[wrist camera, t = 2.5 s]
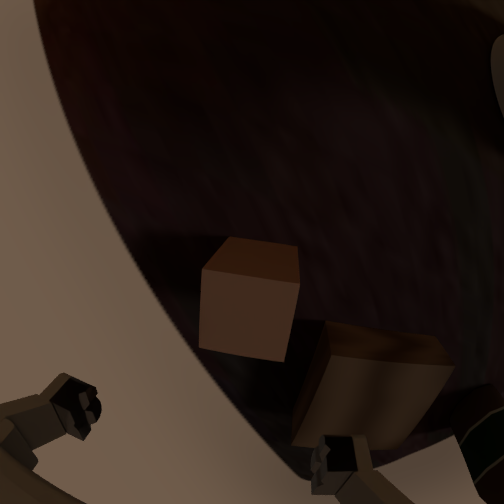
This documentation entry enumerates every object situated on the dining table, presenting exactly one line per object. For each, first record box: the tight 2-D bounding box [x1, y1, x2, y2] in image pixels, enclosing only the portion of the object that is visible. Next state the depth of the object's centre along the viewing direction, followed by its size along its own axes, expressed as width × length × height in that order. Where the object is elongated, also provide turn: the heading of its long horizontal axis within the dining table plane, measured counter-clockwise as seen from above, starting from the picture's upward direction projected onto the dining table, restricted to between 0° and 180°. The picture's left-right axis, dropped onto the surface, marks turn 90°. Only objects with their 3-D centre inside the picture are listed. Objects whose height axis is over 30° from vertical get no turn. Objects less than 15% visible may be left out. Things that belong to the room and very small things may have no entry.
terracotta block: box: [199, 237, 300, 362], centre depth 19 cm, size 5×5×7 cm
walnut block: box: [291, 321, 455, 450], centre depth 21 cm, size 11×11×5 cm
